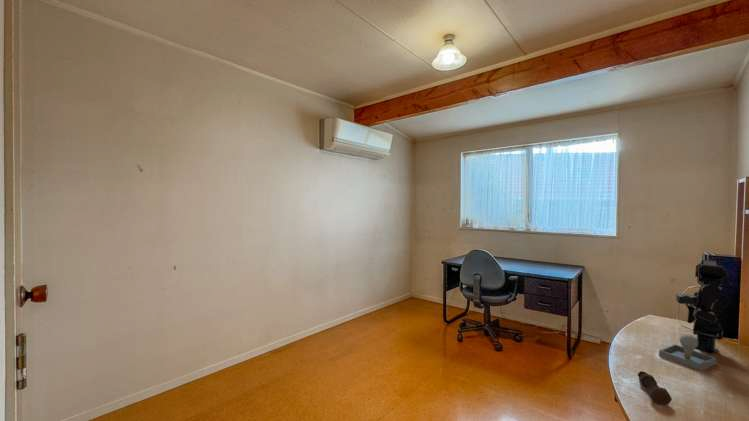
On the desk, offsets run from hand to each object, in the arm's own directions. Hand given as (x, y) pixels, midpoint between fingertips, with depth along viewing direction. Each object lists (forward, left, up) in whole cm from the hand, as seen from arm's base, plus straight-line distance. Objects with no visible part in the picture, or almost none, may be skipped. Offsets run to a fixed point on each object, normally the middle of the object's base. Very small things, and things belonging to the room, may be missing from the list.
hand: (691, 326), depth 137 cm
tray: (+9, +2, -12) cm, 15 cm away
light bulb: (+8, +2, -11) cm, 14 cm away
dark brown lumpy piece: (+48, +7, -12) cm, 50 cm away
